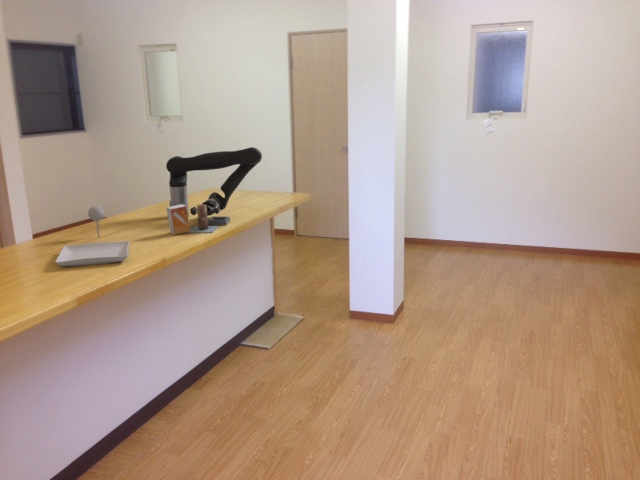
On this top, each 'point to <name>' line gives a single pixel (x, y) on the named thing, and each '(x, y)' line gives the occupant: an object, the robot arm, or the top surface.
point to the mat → (209, 230)
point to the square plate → (93, 253)
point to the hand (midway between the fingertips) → (201, 213)
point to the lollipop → (96, 215)
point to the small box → (178, 219)
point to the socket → (218, 220)
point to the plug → (202, 217)
